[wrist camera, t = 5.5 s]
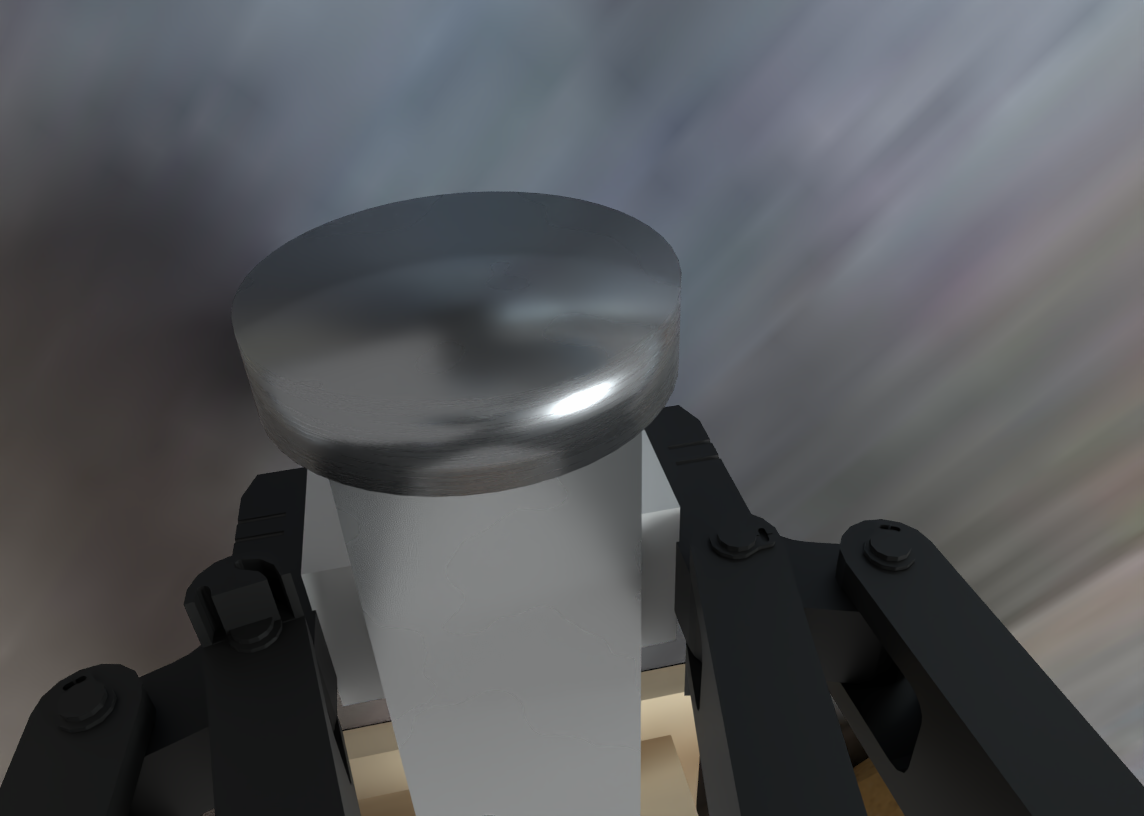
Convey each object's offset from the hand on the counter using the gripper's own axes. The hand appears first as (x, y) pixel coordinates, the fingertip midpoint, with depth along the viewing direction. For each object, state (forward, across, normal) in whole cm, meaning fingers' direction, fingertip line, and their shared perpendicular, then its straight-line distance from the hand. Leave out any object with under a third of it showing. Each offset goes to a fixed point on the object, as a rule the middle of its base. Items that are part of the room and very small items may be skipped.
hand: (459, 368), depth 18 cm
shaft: (-3, 0, -8) cm, 9 cm away
